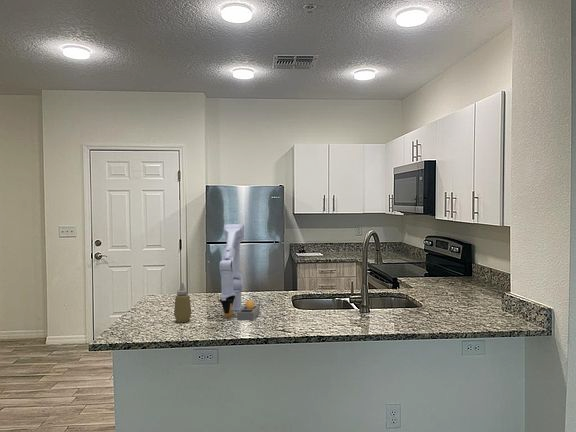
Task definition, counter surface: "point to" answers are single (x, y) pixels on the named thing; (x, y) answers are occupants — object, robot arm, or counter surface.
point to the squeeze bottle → (182, 305)
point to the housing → (248, 311)
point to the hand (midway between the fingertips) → (228, 312)
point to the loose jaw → (229, 312)
